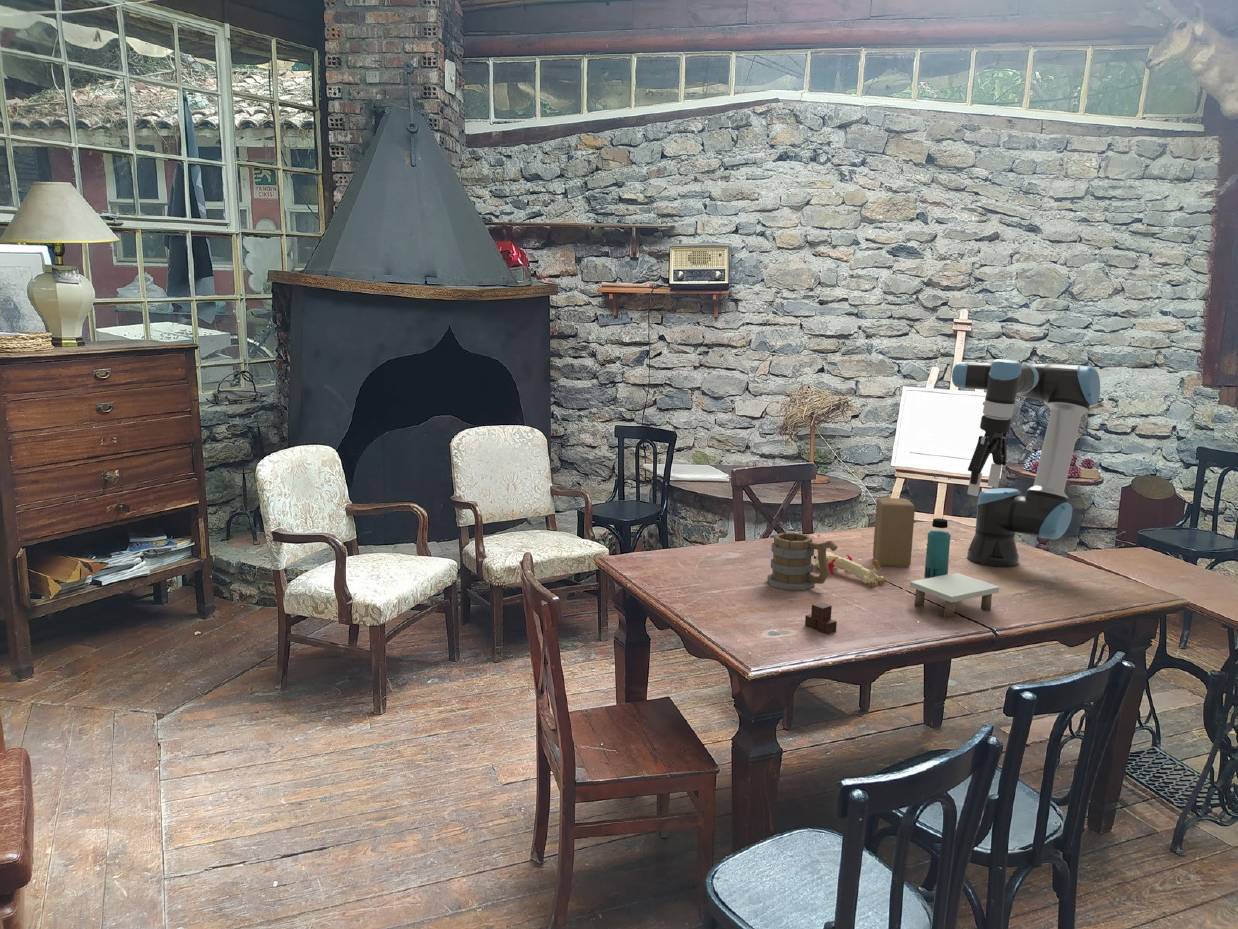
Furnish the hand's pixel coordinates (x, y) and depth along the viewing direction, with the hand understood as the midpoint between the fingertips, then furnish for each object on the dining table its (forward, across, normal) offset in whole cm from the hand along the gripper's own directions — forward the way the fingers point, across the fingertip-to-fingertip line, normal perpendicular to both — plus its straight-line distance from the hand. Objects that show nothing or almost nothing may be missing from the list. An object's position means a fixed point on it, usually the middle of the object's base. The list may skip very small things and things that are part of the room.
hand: (982, 490), depth 246 cm
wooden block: (+32, -7, -26) cm, 42 cm away
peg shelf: (+28, +20, +5) cm, 35 cm away
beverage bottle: (+30, +6, -6) cm, 31 cm away
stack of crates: (+29, +58, -11) cm, 66 cm away
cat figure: (+32, +15, -30) cm, 46 cm away
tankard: (+32, +34, -33) cm, 57 cm away
